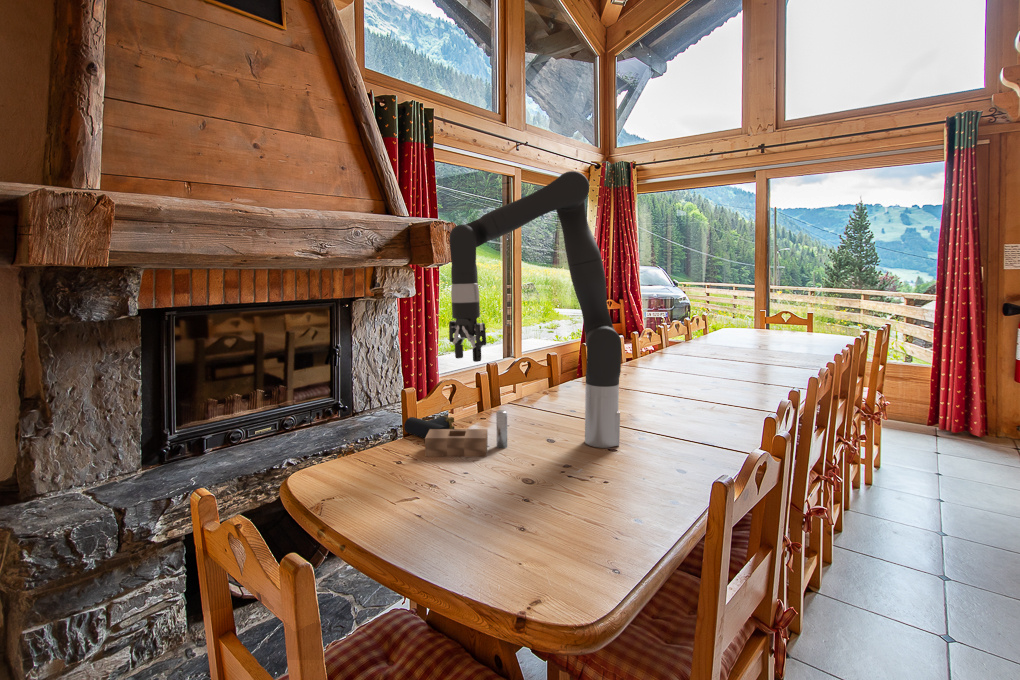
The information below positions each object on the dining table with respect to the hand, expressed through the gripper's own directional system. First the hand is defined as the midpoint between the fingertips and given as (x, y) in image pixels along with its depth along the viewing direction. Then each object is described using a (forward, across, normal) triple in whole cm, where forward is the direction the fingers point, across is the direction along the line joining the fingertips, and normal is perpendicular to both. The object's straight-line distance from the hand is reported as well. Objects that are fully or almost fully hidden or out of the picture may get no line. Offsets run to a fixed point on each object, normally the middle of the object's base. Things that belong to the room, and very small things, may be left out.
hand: (468, 359), depth 147 cm
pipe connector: (+24, +15, +3) cm, 29 cm away
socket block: (+24, -2, +6) cm, 25 cm away
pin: (+25, -6, -6) cm, 26 cm away
